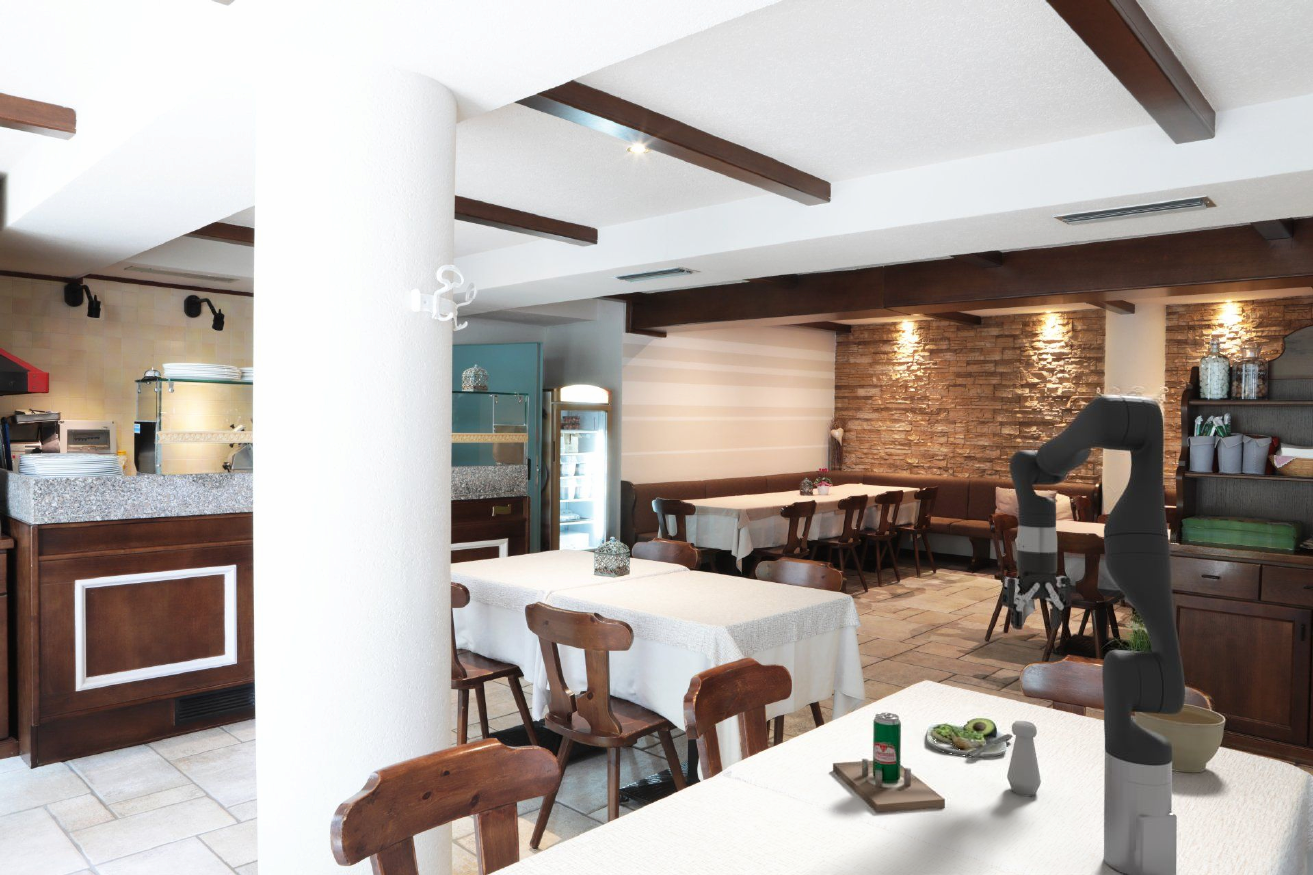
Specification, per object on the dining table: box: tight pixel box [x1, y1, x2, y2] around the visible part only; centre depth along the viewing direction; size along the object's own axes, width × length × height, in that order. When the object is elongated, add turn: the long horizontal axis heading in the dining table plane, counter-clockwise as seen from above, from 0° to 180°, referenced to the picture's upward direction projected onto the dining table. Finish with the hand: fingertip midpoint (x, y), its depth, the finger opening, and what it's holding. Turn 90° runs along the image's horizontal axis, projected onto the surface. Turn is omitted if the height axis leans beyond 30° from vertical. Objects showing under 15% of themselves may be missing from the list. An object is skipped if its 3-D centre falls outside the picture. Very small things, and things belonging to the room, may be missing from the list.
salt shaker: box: [1006, 720, 1042, 797], centre depth 164 cm, size 6×6×13 cm
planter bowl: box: [1134, 703, 1226, 773], centre depth 179 cm, size 16×16×11 cm
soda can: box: [872, 712, 902, 783], centre depth 165 cm, size 5×5×12 cm
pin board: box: [832, 758, 946, 814], centre depth 165 cm, size 20×13×4 cm, turn 11°
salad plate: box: [926, 717, 1013, 758], centre depth 189 cm, size 19×18×5 cm
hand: (1036, 628), depth 177 cm, fingers open, 8 cm apart
